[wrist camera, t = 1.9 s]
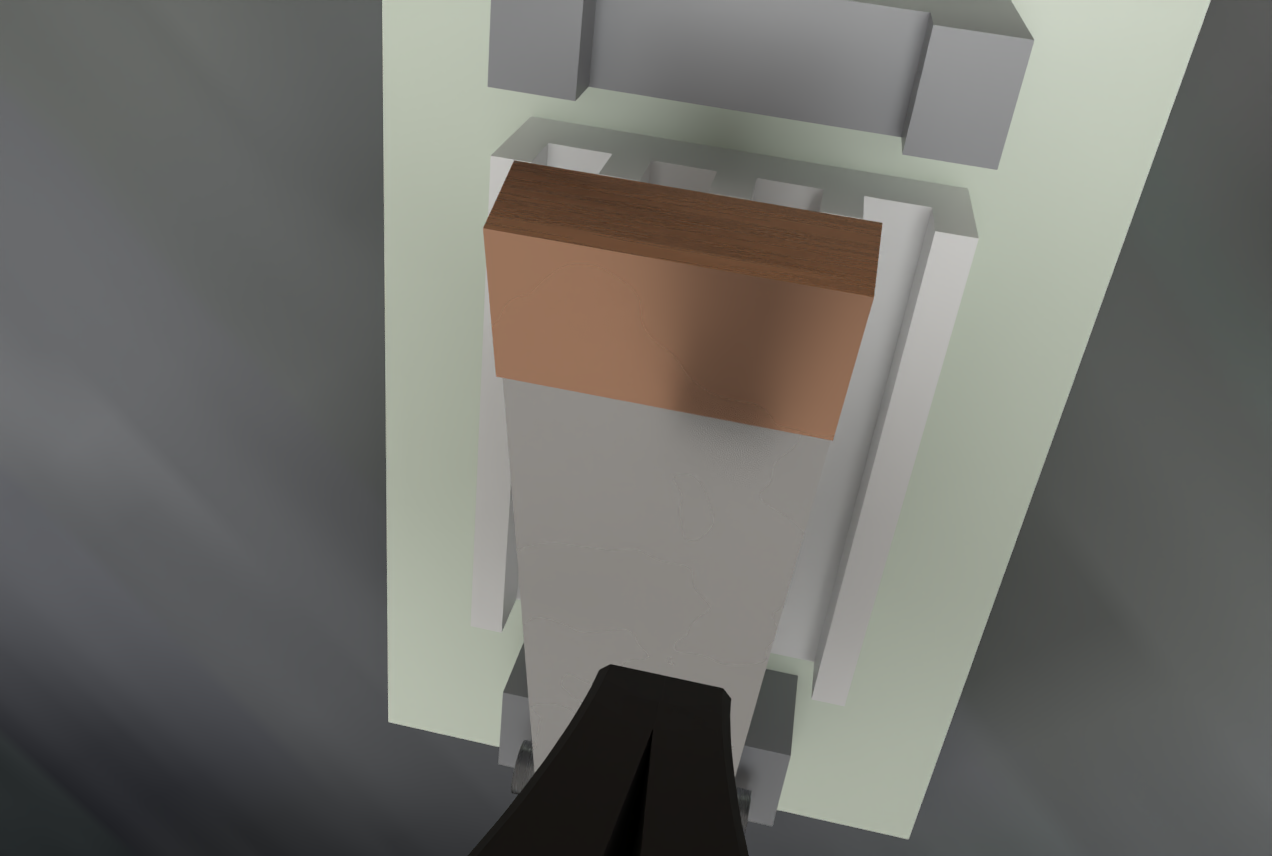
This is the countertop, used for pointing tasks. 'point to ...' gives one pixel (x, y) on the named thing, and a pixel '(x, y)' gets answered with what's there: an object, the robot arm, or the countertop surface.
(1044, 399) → the board
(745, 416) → the strip
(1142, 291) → the countertop surface
